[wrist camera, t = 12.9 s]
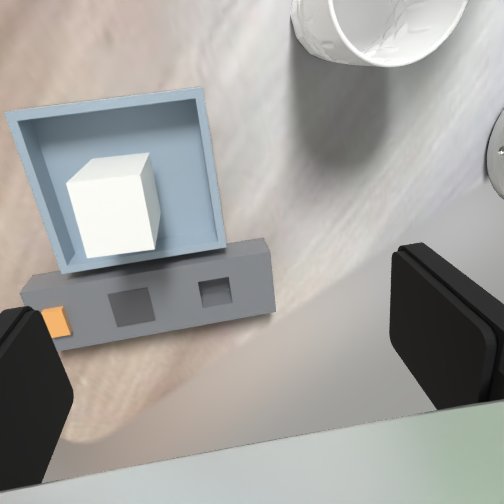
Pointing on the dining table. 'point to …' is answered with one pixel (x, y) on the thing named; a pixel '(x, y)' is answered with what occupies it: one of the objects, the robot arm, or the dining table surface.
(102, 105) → the tray
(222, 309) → the strip
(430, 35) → the white cup
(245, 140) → the dining table surface
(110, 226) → the block
